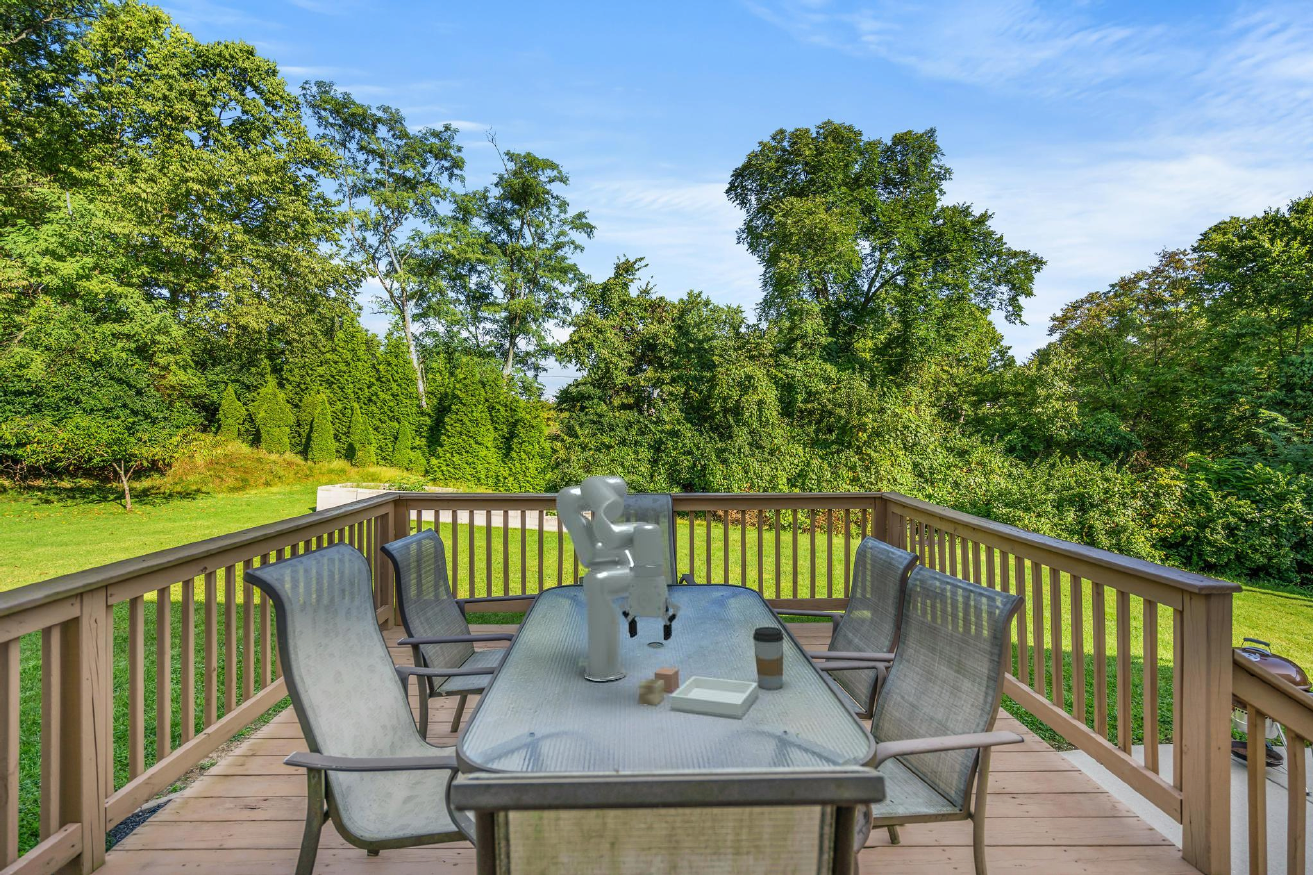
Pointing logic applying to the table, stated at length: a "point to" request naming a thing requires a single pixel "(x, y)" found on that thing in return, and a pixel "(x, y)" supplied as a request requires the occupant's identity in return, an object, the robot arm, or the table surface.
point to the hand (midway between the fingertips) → (650, 637)
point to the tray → (715, 697)
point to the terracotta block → (668, 678)
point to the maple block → (651, 692)
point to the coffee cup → (769, 657)
